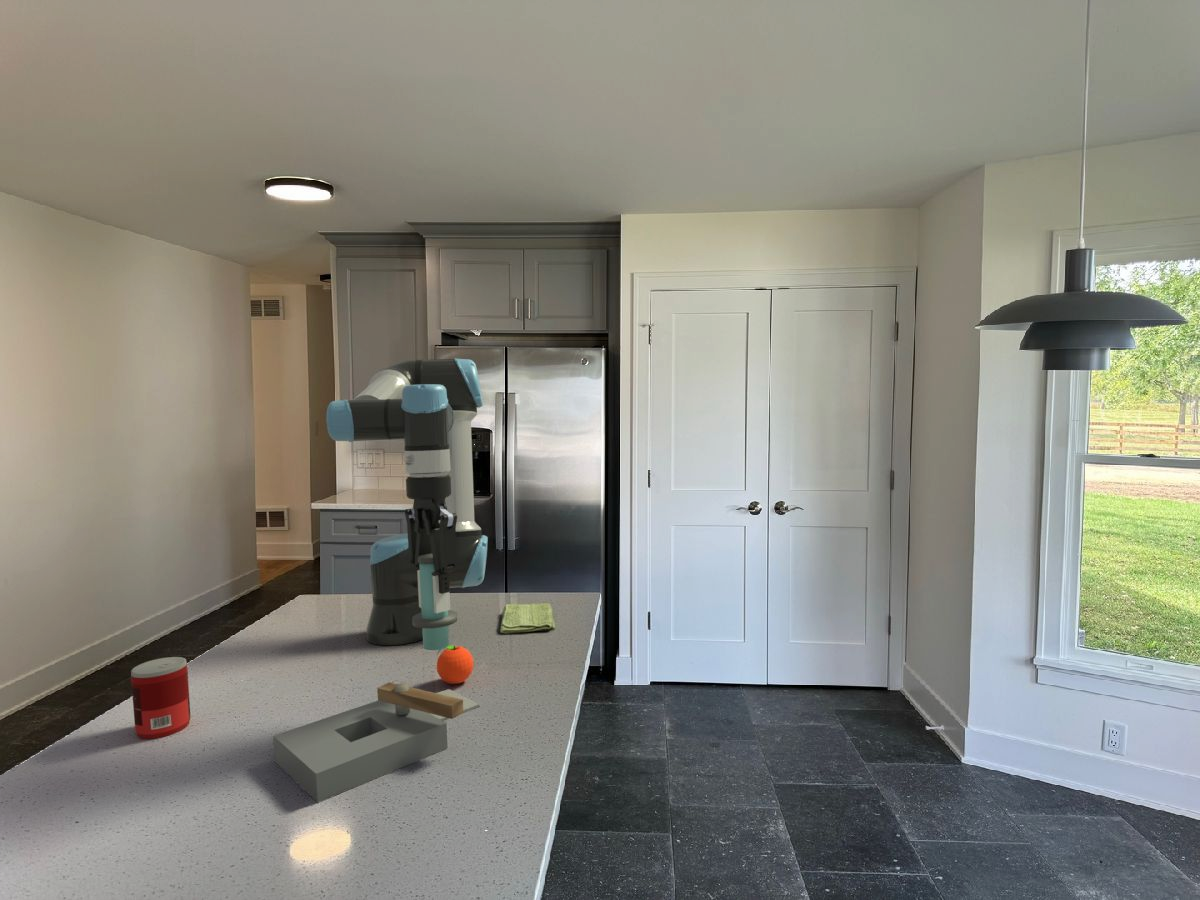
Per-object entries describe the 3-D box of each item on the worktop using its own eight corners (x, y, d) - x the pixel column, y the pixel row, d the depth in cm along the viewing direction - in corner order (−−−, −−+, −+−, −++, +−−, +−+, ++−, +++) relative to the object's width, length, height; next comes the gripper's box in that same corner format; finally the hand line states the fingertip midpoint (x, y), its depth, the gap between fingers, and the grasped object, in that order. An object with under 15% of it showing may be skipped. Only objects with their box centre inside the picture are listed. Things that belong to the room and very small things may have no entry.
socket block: (274, 761, 104) (273, 735, 104) (397, 717, 118) (395, 694, 118) (317, 802, 93) (316, 773, 93) (447, 748, 107) (446, 723, 106)
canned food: (201, 721, 119) (197, 658, 119) (158, 742, 112) (153, 676, 111) (168, 716, 122) (164, 654, 121) (124, 736, 114) (119, 671, 114)
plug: (405, 646, 121) (401, 557, 120) (443, 635, 126) (439, 549, 125) (428, 656, 115) (423, 562, 114) (467, 645, 121) (463, 555, 120)
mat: (399, 708, 122) (399, 706, 122) (448, 690, 129) (448, 688, 129) (428, 725, 115) (428, 723, 114) (479, 706, 121) (479, 704, 121)
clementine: (425, 685, 132) (423, 648, 131) (449, 672, 138) (447, 637, 137) (458, 692, 128) (456, 654, 127) (481, 678, 134) (480, 642, 134)
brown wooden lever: (390, 704, 113) (388, 678, 113) (463, 723, 105) (462, 695, 105) (378, 710, 111) (377, 684, 111) (452, 730, 103) (451, 702, 103)
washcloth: (499, 637, 160) (498, 623, 159) (502, 614, 177) (502, 602, 177) (556, 633, 161) (555, 620, 161) (553, 611, 178) (553, 599, 178)
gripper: (384, 474, 123) (390, 604, 124) (435, 478, 110) (442, 623, 111) (421, 470, 128) (427, 595, 129) (475, 474, 115) (481, 612, 117)
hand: (434, 608), depth 120 cm, fingers closed on plug, 4 cm apart
